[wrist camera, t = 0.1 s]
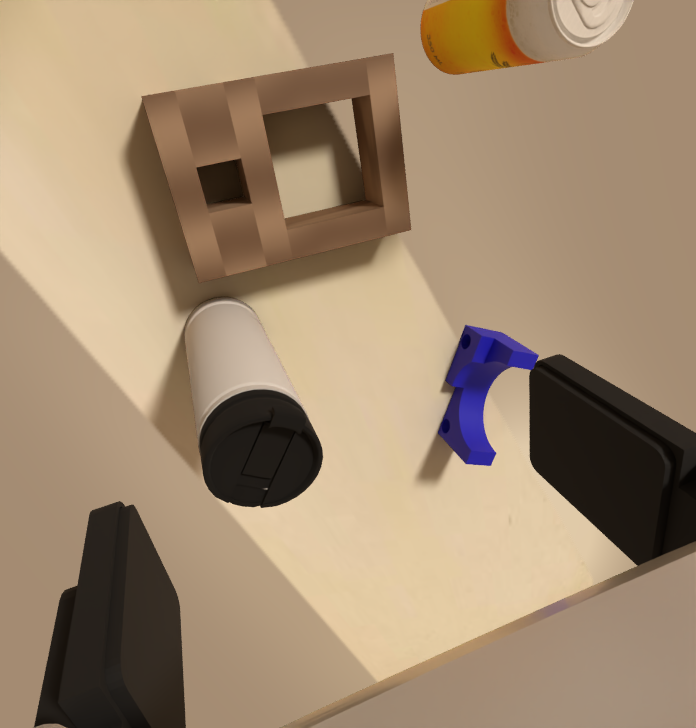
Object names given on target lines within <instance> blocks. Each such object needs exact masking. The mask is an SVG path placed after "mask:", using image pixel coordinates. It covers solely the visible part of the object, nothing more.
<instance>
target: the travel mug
mask: <svg viewBox="0 0 696 728" xmlns="http://www.w3.org/2000/svg"><path fill="white" fill-rule="evenodd" d="M184 338H185V346H186V353H187V361H188V369H189V377H190V385H191V393H192V401H193V408H194V416H195V424H196V432H197V439H198V447H199V452H200V456H201V462H202V470H203V476H204V480H205V483H206V485H207V487H208V489H209V490H210V491H211V493H212V494H213V495H214V496H215V497H217V498H219V499H221V500H223V501H225V502H227V503H229V502H230V503H232V504H235V505H239V506H245V507H256V506H261V508H264V507H273V506H278V505H281V504H283V503H286V502H288V501H290V500H292V499H294V498H295V497H297V496H298V495H300V494H301V493H302V492H304V491H305V490H306V489H307V488H308V487H309V486H310V485H311V484H312V483H313V481H314V480H315V478H316V477H317V475H318V473H319V471H320V468H321V465H322V460H323V452H322V447H321V444H320V441H319V439H318V437H317V435H316V433H315V431H314V429H313V427H312V425H311V423H310V421H309V418H308V415H307V413H306V411H305V409H304V407H303V405H302V403H301V401H300V399H299V397H298V395H297V393H296V391H295V389H294V387H293V385H292V383H291V381H290V379H289V377H288V375H287V373H286V371H285V369H284V367H283V365H282V363H281V361H280V359H279V357H278V355H277V353H276V351H275V349H274V347H273V346H272V344H271V342H270V340H269V338H268V336H267V334H266V332H265V330H264V328H263V326H262V324H261V322H260V320H259V318H258V316H257V315H256V313H255V311H254V310H253V309H252V308H251V307H250V306H248V305H247V304H246V303H244V302H242V301H240V300H238V299H234V298H229V297H219V298H213V299H210V300H208V301H205V302H204V303H202V304H200V305H199V306H198V307H197V308H195V309H194V310H193V312H192V313H191V314H190V316H189V317H188V320H187V322H186V325H185V329H184Z"/></svg>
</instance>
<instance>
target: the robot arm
mask: <svg viewBox="0 0 696 728" xmlns="http://www.w3.org/2000/svg"><path fill="white" fill-rule="evenodd" d="M529 383H530V384H529V387H530V388H529V389H530V460H531V463H532V466H533V467H534V469H535V470H536V471H537V472H538V473H539V474H540V475H541V476H542V477H543V478H544V479H545V480H546V481H547V482H548V483H549V484H550V485H552V486H553V487H554V488H555V489H556V490H557V491H558V492H559V493H560V494H561V495H562V496H563V497H564V498H565V499H567V500H568V501H569V502H570V503H571V504H572V505H573V506H574V507H575V508H576V509H577V510H578V511H579V512H580V513H582V514H583V515H584V516H585V517H586V518H587V519H588V520H589V521H590V522H591V523H592V524H593V525H595V526H596V527H597V528H598V529H599V530H600V531H601V532H602V533H603V534H604V535H605V536H606V537H607V538H608V539H609V540H610V541H612V542H613V543H614V544H615V545H616V546H617V547H618V548H619V549H620V550H621V551H622V552H623V553H624V554H626V555H627V556H628V557H629V558H630V559H631V560H632V561H633V562H634V563H635V564H636V565H638V566H637V567H634V568H632V569H630V570H628V571H626V572H623V573H621V574H618V575H616V576H614V577H612V578H610V579H607V580H605V581H603V582H600V583H598V584H596V585H594V586H591V587H589V588H587V589H585V590H582V591H580V592H578V593H575V594H573V595H571V596H569V597H566V598H564V599H562V600H560V601H557V602H555V603H553V604H551V605H548V606H546V607H544V608H542V609H540V610H537V611H535V612H533V613H531V614H528V615H526V616H524V617H522V618H519V619H517V620H515V621H513V622H510V623H508V624H506V625H504V626H502V627H499V628H497V629H495V630H493V631H490V632H488V633H486V634H484V635H482V636H479V637H477V638H475V639H473V640H470V641H468V642H466V643H464V644H462V645H459V646H457V647H455V648H453V649H450V650H448V651H446V652H444V653H441V654H439V655H437V656H435V657H433V658H430V659H428V660H426V661H424V662H422V663H419V664H417V665H415V666H413V667H411V668H408V669H406V670H404V671H402V672H400V673H397V674H395V675H393V676H391V677H389V678H386V679H384V680H382V681H380V682H378V683H376V684H373V685H371V686H369V687H367V688H365V689H362V690H360V691H358V692H356V693H354V694H351V695H349V696H347V697H345V698H343V699H340V700H338V701H336V702H334V703H332V704H329V705H327V706H325V707H323V708H321V709H318V710H316V711H314V712H312V713H310V714H308V715H306V716H304V717H302V718H300V719H297V720H295V721H293V722H291V723H289V724H287V725H285V726H283V727H280V728H696V433H695V432H693V431H691V430H690V429H688V428H686V427H685V426H683V425H681V424H679V423H678V422H676V421H674V420H672V419H671V418H669V417H667V416H666V415H664V414H662V413H661V412H659V411H657V410H655V409H654V408H652V407H650V406H649V405H647V404H645V403H644V402H642V401H640V400H638V399H637V398H635V397H633V396H631V395H630V394H628V393H626V392H625V391H623V390H621V389H620V388H618V387H616V386H615V385H613V384H611V383H609V382H607V381H606V380H604V379H603V378H601V377H599V376H597V375H596V374H594V373H592V372H591V371H589V370H587V369H585V368H584V367H582V366H580V365H579V364H577V363H575V362H573V361H572V360H570V359H568V358H567V357H565V356H563V355H560V354H559V355H555V356H552V357H549V358H546V359H542V360H539V361H537V362H536V363H535V365H534V369H532V370H531V372H530V376H529ZM183 683H184V682H183V661H182V641H181V619H180V605H179V600H178V596H177V593H176V591H175V588H174V586H173V584H172V582H171V580H170V578H169V576H168V574H167V572H166V570H165V568H164V566H163V564H162V561H161V559H160V557H159V555H158V553H157V551H156V549H155V547H154V545H153V543H152V541H151V539H150V537H149V534H148V533H147V530H146V528H145V526H144V524H143V522H142V520H141V518H140V516H139V514H138V512H137V510H136V508H135V506H134V505H129V506H126V507H125V506H124V504H123V503H122V502H120V501H119V502H116V503H113V504H110V505H107V506H104V507H101V508H98V509H95V510H92V511H91V512H90V515H89V521H88V527H87V533H86V538H85V544H84V550H83V556H82V562H81V568H80V574H79V580H78V586H75V587H72V588H70V589H67V590H65V591H64V592H63V593H62V595H61V598H60V601H59V606H58V611H57V616H56V621H55V626H54V631H53V636H52V641H51V646H50V651H49V656H48V661H47V666H46V671H45V676H44V680H43V685H42V690H41V696H40V701H39V705H38V711H37V716H36V721H35V726H34V728H186V725H185V703H184V684H183Z"/></svg>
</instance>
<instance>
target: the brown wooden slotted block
mask: <svg viewBox="0 0 696 728" xmlns="http://www.w3.org/2000/svg"><path fill="white" fill-rule="evenodd" d="M141 97H142V100H143V103H144V106H145V110H146V113H147V116H148V119H149V123H150V126H151V129H152V132H153V136H154V139H155V142H156V145H157V149H158V152H159V155H160V158H161V162H162V165H163V168H164V171H165V174H166V178H167V181H168V184H169V187H170V191H171V194H172V197H173V200H174V204H175V207H176V210H177V213H178V217H179V220H180V223H181V226H182V230H183V233H184V236H185V239H186V243H187V246H188V249H189V252H190V256H191V259H192V262H193V265H194V269H195V272H196V275H197V278H198V282H199V283H201V282H205V281H209V280H213V279H217V278H221V277H225V276H229V275H233V274H237V273H241V272H245V271H249V270H253V269H257V268H261V267H265V266H269V265H273V264H277V263H281V262H285V261H289V260H293V259H297V258H301V257H305V256H309V255H313V254H317V253H321V252H325V251H329V250H333V249H337V248H341V247H345V246H349V245H353V244H357V243H361V242H365V241H369V240H373V239H377V238H381V237H385V236H389V235H393V234H397V233H401V232H405V231H409V230H411V223H410V213H409V203H408V194H407V184H406V174H405V164H404V154H403V144H402V134H401V124H400V115H399V105H398V96H397V85H396V75H395V65H394V56H393V53H392V54H386V55H380V56H374V57H369V58H363V59H357V60H351V61H345V62H339V63H333V64H328V65H322V66H316V67H310V68H304V69H298V70H292V71H287V72H281V73H275V74H269V75H263V76H257V77H252V78H246V79H240V80H234V81H228V82H223V83H217V84H211V85H205V86H199V87H193V88H188V89H182V90H176V91H170V92H164V93H158V94H153V95H147V96H141ZM350 98H352V104H353V112H354V119H355V126H356V133H357V139H358V148H359V155H360V162H361V169H362V176H363V184H364V191H365V198H366V200H363V201H358V202H354V203H350V204H345V205H341V206H337V207H333V208H328V209H324V210H320V211H315V212H311V213H307V214H303V215H298V216H294V217H290V218H285V219H284V215H283V210H282V205H281V201H280V196H279V191H278V187H277V182H276V177H275V173H274V168H273V163H272V159H271V154H270V149H269V145H268V140H267V135H266V131H265V126H264V121H263V116H262V115H265V114H270V113H276V112H281V111H286V110H292V109H297V108H302V107H307V106H313V105H318V104H323V103H329V102H334V101H339V100H345V99H350ZM230 160H235V163H236V167H237V171H238V175H239V179H240V183H241V187H242V191H243V195H244V196H243V197H238V198H234V199H229V200H225V201H220V202H216V203H211V204H206V201H205V197H204V194H203V190H202V187H201V183H200V179H199V176H198V172H197V169H196V167H201V166H205V165H210V164H215V163H220V162H225V161H230Z"/></svg>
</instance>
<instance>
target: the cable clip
mask: <svg viewBox="0 0 696 728" xmlns="http://www.w3.org/2000/svg"><path fill="white" fill-rule="evenodd" d="M537 358H538V355H537V354H536V353H534V352H533V351H531V350H529V349H528V348H526V347H525V346H523V345H521V344H520V343H518V342H517V341H515V340H513V339H511V338H510V337H508V336H507V335H505V334H503V333H502V332H498V331H493V330H488V329H483V328H478V327H473V326H468V325H465V327H464V330H463V332H462V335H461V338H460V340H459V346H458V349H457V351H456V354H455V357H454V359H453V362H452V364H451V367H450V370H449V372H448V375H447V377H446V380H445V381H447V382H448V383H449V384H450V385H451V386H454V387H456V388H455V390H454V393H453V395H452V398H451V400H450V403H449V405H448V408H447V411H446V413H445V416H444V418H443V421H442V423H441V426H440V428H439V431H438V434H439V435H440V436H441V437H442V438H443V439H444V440H445V441H446V442H447V444H448V445H449V446H450V447H451V448H452V449H453V450H454V451H455V452H456V454H457V455H458V456H459V457H460V458H461V459H462V460H463V461H464V462H465V464H473V465H486V466H491V464H492V462H493V459H494V457H495V455H496V452H495V451H494V450H493V448H492V447H491V445H490V444H489V442H488V440H487V437H486V434H485V430H484V423H483V410H484V403H485V399H486V396H487V393H488V390H489V388H490V386H491V385H492V383H493V381H494V380H495V379H496V378H497V376H498V375H499V374H500V373H501V372H503V371H504V370H506V369H508V368H510V367H518V368H523V369H529V370H532V369H533V368H534V365H535V363H536V361H537Z"/></svg>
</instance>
